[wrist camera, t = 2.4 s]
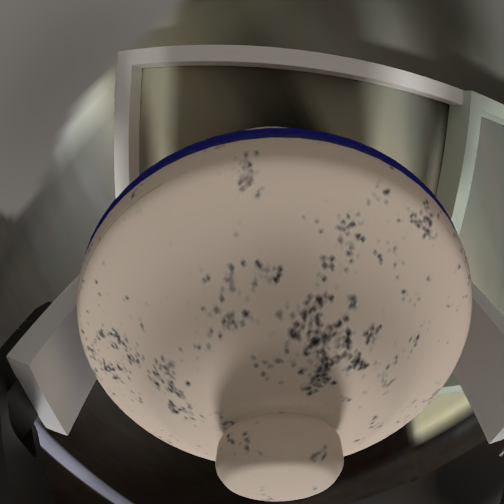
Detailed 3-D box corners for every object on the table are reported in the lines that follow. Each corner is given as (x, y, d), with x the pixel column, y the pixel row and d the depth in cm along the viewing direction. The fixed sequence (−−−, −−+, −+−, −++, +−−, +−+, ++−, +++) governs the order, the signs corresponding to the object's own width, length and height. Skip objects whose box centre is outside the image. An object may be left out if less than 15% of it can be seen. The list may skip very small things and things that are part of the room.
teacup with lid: (136, 192, 14) (-58, 359, 3) (309, 82, 12) (491, -23, 1) (267, 364, 18) (264, 559, 7) (411, 296, 16) (511, 480, 5)
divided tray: (146, 364, 18) (138, 384, 17) (129, 55, 11) (111, 49, 10) (516, 363, 18) (525, 377, 17) (588, 161, 11) (605, 168, 9)
